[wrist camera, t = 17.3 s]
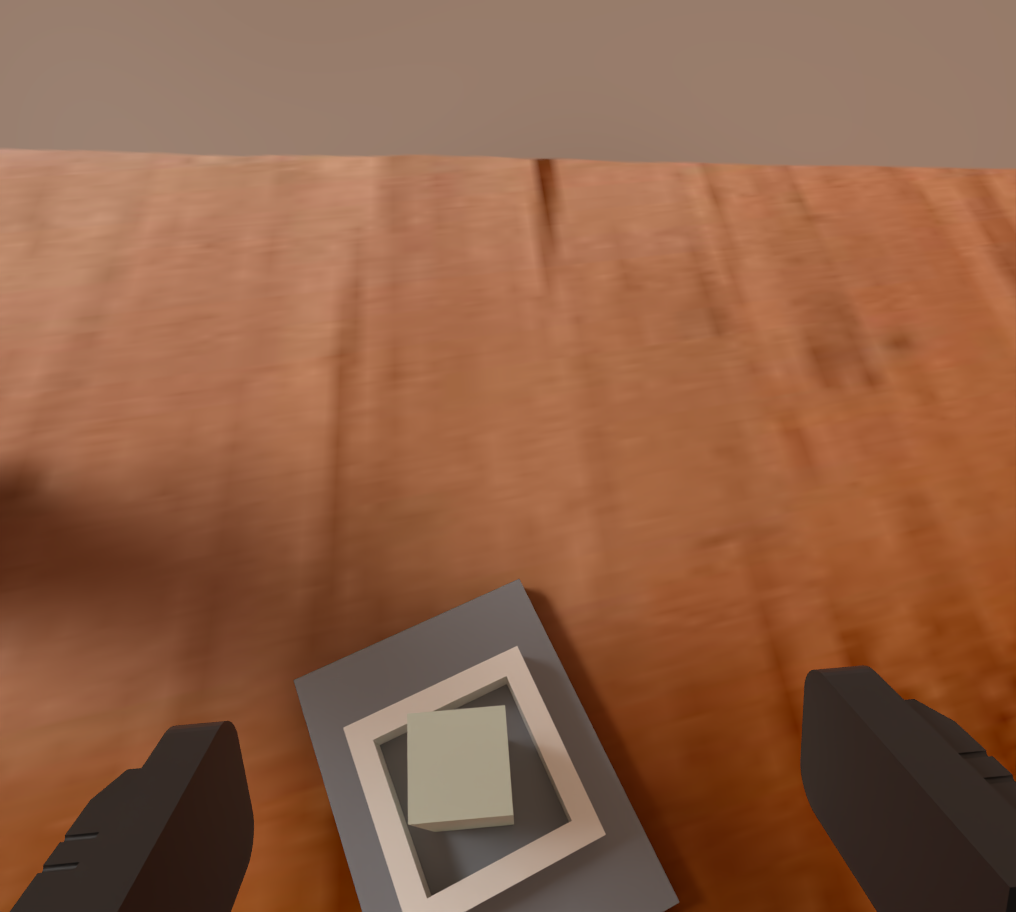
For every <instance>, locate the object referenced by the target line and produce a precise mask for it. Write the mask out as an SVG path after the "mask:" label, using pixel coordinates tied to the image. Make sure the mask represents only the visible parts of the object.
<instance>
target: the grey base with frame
mask: <svg viewBox="0 0 1016 912" xmlns="http://www.w3.org/2000/svg"><path fill="white" fill-rule="evenodd" d="M294 684H295V687H296V690H297V694H298V697H299V700H300V704H301V707H302V710H303V714H304V717H305V721H306V724H307V727H308V731H309V734H310V737H311V741H312V744H313V747H314V751H315V754H316V758H317V761H318V764H319V768H320V771H321V774H322V778H323V781H324V784H325V788H326V791H327V794H328V798H329V801H330V805H331V808H332V811H333V815H334V818H335V821H336V825H337V828H338V831H339V835H340V838H341V841H342V845H343V848H344V852H345V855H346V858H347V862H348V865H349V868H350V872H351V875H352V878H353V882H354V885H355V889H356V892H357V895H358V899H359V902H360V905H361V909H362V912H664V911H666V910H667V909H669V908H671V907H672V906H674V905H676V904H677V903H679V900H678V898H677V896H676V894H675V892H674V890H673V888H672V886H671V884H670V882H669V880H668V878H667V876H666V874H665V872H664V870H663V868H662V866H661V864H660V862H659V860H658V858H657V856H656V853H655V851H654V849H653V847H652V845H651V843H650V841H649V839H648V837H647V835H646V833H645V831H644V829H643V827H642V825H641V823H640V821H639V819H638V817H637V815H636V813H635V811H634V809H633V807H632V805H631V803H630V801H629V799H628V797H627V795H626V793H625V791H624V789H623V787H622V785H621V783H620V781H619V779H618V777H617V775H616V773H615V771H614V769H613V767H612V765H611V763H610V761H609V759H608V757H607V755H606V753H605V751H604V749H603V747H602V745H601V743H600V741H599V739H598V737H597V735H596V733H595V731H594V729H593V726H592V724H591V722H590V720H589V718H588V716H587V714H586V712H585V710H584V708H583V706H582V704H581V702H580V700H579V698H578V696H577V694H576V692H575V690H574V688H573V686H572V684H571V682H570V680H569V678H568V676H567V674H566V672H565V670H564V668H563V666H562V664H561V662H560V660H559V658H558V656H557V654H556V652H555V650H554V648H553V646H552V644H551V642H550V640H549V638H548V636H547V634H546V632H545V630H544V628H543V626H542V624H541V622H540V620H539V618H538V616H537V614H536V612H535V610H534V608H533V606H532V604H531V601H530V599H529V597H528V595H527V593H526V591H525V589H524V587H523V585H522V583H521V581H520V579H518V580H516V581H513V582H511V583H509V584H507V585H504V586H502V587H500V588H498V589H496V590H493V591H491V592H489V593H487V594H484V595H482V596H480V597H478V598H475V599H473V600H471V601H469V602H467V603H464V604H462V605H460V606H458V607H455V608H453V609H451V610H449V611H447V612H444V613H442V614H440V615H438V616H435V617H433V618H431V619H429V620H426V621H424V622H422V623H420V624H418V625H415V626H413V627H411V628H409V629H406V630H404V631H402V632H400V633H398V634H395V635H393V636H391V637H389V638H386V639H384V640H382V641H380V642H377V643H375V644H373V645H371V646H369V647H366V648H364V649H362V650H360V651H357V652H355V653H353V654H351V655H349V656H346V657H344V658H342V659H340V660H337V661H335V662H333V663H331V664H329V665H326V666H324V667H322V668H320V669H317V670H315V671H313V672H311V673H308V674H306V675H304V676H302V677H300V678H297V679H295V680H294ZM501 705H505V711H506V724H507V736H508V749H509V762H510V775H511V788H512V802H513V815H514V825H506V826H495V827H484V828H473V829H463V830H452V831H441V832H433V831H430V830H426V829H422V828H418V827H415V826H411V825H408V760H407V714H409V713H421V712H432V711H444V710H455V709H467V708H478V707H490V706H501Z"/></svg>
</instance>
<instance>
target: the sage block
mask: <svg viewBox="0 0 1016 912" xmlns="http://www.w3.org/2000/svg"><path fill="white" fill-rule="evenodd" d="M407 760H408V825H411V826H415V827H418V828H422V829H426V830H430V831H433V832H441V831H452V830H463V829H473V828H484V827H495V826H506V825H514V815H513V802H512V788H511V775H510V762H509V749H508V736H507V724H506V711H505V705H501V706H490V707H478V708H467V709H455V710H444V711H432V712H421V713H409V714H407Z"/></svg>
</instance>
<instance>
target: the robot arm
mask: <svg viewBox="0 0 1016 912" xmlns="http://www.w3.org/2000/svg"><path fill="white" fill-rule="evenodd" d="M801 775H802V780H803V785H804V789H805V792H806V795H807V798H808V801H809V803H810V805H811V808H812V810H813V811H814V813H815V815H816V816H817V818H818V820H819V821H820V823H821V824H822V826H823V827H824V829H825V831H826V832H827V834H828V835H829V837H830V838H831V840H832V842H833V843H834V845H835V846H836V848H837V849H838V851H839V853H840V854H841V856H842V857H843V859H844V860H845V862H846V864H847V865H848V867H849V868H850V870H851V871H852V873H853V875H854V876H855V878H856V879H857V881H858V882H859V884H860V886H861V887H862V889H863V890H864V892H865V893H866V895H867V897H868V898H869V900H870V901H871V903H872V904H873V906H874V908H875V909H876V911H877V912H1016V782H1015V781H1014V779H1013V776H1012V774H1011V773H1010V772H1009V771H1008V770H1007V769H1006V768H1004V767H1003V766H1002V765H1001V764H1000V763H999V762H998V761H997V760H996V759H995V758H994V757H993V756H990V757H988V756H987V754H986V750H985V749H984V748H983V747H982V746H981V745H980V744H979V743H977V742H976V741H975V740H974V739H973V738H972V737H971V736H970V735H969V734H968V733H967V732H966V731H964V730H963V729H962V728H961V727H960V726H959V725H958V724H957V723H956V722H955V721H953V720H951V719H949V718H947V717H946V716H944V715H942V714H940V713H938V712H937V711H935V710H933V709H931V708H929V707H928V706H926V705H924V704H922V703H920V702H919V701H917V700H915V699H911V700H904V699H902V698H901V697H900V696H899V695H898V694H897V693H896V692H895V691H894V690H893V689H892V688H891V687H890V686H889V685H888V684H887V683H886V682H885V681H884V680H883V679H882V678H881V677H880V676H879V675H878V674H877V673H876V672H875V671H874V670H873V669H871V668H870V667H868V666H864V665H863V666H852V667H841V668H830V669H819V670H811V671H810V672H809V673H808V674H807V677H806V680H805V686H804V705H803V724H802V743H801ZM253 836H254V819H253V811H252V805H251V800H250V795H249V790H248V785H247V780H246V775H245V770H244V765H243V760H242V755H241V750H240V744H239V739H238V735H237V731H236V729H235V726H234V725H233V724H232V722H230V721H222V722H211V723H200V724H189V725H178V726H172V727H170V728H169V729H168V730H167V731H166V733H165V734H164V735H163V737H162V738H161V740H160V741H159V743H158V744H157V746H156V747H155V749H154V750H153V752H152V753H151V755H150V756H149V758H148V759H147V761H146V762H145V764H144V765H143V767H142V768H139V769H128V770H126V771H125V772H124V773H123V774H121V775H120V776H119V777H118V778H117V779H115V780H114V781H113V782H112V783H111V784H109V785H108V786H107V787H106V788H105V789H103V790H102V791H101V792H100V793H98V794H97V795H96V796H95V797H94V798H92V799H91V800H90V801H89V803H88V804H87V806H86V807H85V808H84V810H83V811H82V812H81V814H80V815H79V817H78V818H77V819H76V821H75V822H74V824H73V825H72V826H71V828H70V829H69V830H68V832H67V833H66V835H65V841H64V842H60V843H59V844H58V846H57V847H56V849H55V850H54V851H53V853H52V854H51V855H50V857H49V858H48V860H47V861H46V862H45V864H44V865H43V872H42V873H37V875H36V876H35V878H34V879H33V880H32V882H31V883H30V885H29V886H28V887H27V889H26V890H25V891H24V893H23V894H22V896H21V897H20V898H19V900H18V901H17V903H16V904H15V905H14V907H13V908H12V909H11V911H10V912H231V910H232V907H233V905H234V902H235V899H236V897H237V894H238V891H239V889H240V886H241V883H242V881H243V878H244V875H245V873H246V870H247V867H248V864H249V861H250V857H251V852H252V846H253Z"/></svg>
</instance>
